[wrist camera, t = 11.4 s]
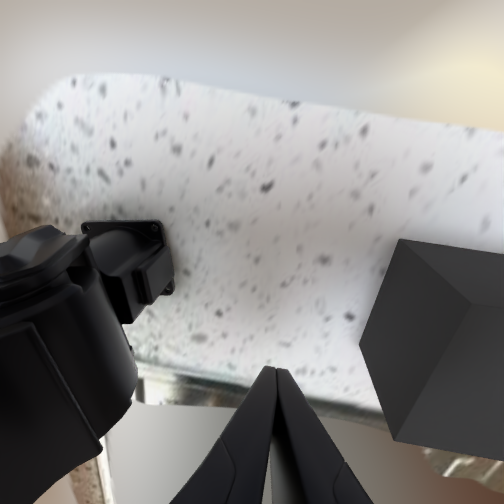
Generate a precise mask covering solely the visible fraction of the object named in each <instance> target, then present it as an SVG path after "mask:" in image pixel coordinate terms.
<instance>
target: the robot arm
mask: <svg viewBox="0 0 504 504" xmlns="http://www.w3.org/2000/svg"><path fill="white" fill-rule="evenodd" d="M153 224H155V225H156V226H157V227H158V229H155V228H154V226H153ZM87 226H88V227H89V228H90V230H89V229H88V227H87ZM81 230H82V233H83V234H80V235H66V234H65V232H64V233H62V232H61V231H59V230H58V229H56V228H55V227H53V226H52V225H44V226H39V227H37V228H34V229H31V230H29V231H26V232H24V233H21V234H19V235H17V236H14V237H12V238H11V239H9V240H8V241H7V242H3V243H0V504H33V503H34V502H35V501H36V500H37V499H38V498H39V497H40V496H41V495H42V494H43V493H44V492H46V491H47V490H48V489H49V488H50V487H51V486H52V485H53V484H54V483H55V482H57V481H58V480H59V479H61V478H62V477H63V476H65V475H66V474H68V473H69V472H70V471H72V470H73V469H74V468H76V467H77V466H79V465H81V464H83V463H85V462H87V461H88V460H90V459H92V458H94V457H96V456H98V455H99V454H100V453H101V452H102V450H103V447H102V445H101V443H100V441H99V439H100V438H101V437H103V436H104V435H105V434H106V433H107V432H108V431H109V430H110V429H111V428H112V427H113V426H114V425H115V424H116V423H117V422H118V421H119V420H120V419H121V418H122V417H123V415H124V414H125V413H126V412H127V410H128V409H129V407H130V406H131V404H132V400H131V397H132V395H133V392H134V389H135V387H136V384H137V381H138V368H137V366H136V363H135V361H134V358H133V357H134V351H133V348H132V346H130V345H129V342H128V340H127V337H126V335H125V332H124V330H123V328H122V324H132V323H133V322H134V321H135V319H136V318H137V317H138V316H139V314H140V313H141V312H142V311H143V309H144V308H145V307H146V306H147V305H152V304H153V303H154V301H155V300H156V299H157V297H158V296H159V295H171V294H172V293H173V292H174V290H175V286H174V281H173V277H174V270H173V265H172V259H171V254H170V249H169V247H168V246H167V245H166V239H165V234H164V229H163V225H162V223H161V222H160V221H159V220H107V221H86V222H84V223H82V224H81ZM167 288H169V289H170V290H167ZM269 451H270V468H271V486H272V487H271V488H272V504H374V503H373V502H372V500H371V499H370V498H369V496H368V495H367V493H366V492H365V490H364V489H363V487H362V486H361V484H360V482H359V481H358V479H357V478H356V477H355V475H354V473H353V472H352V470H351V469H350V467H349V465H348V464H347V462H344V458H343V457H342V455H341V453H340V452H339V450H338V449H337V447H336V445H335V444H334V442H333V441H332V439H331V437H330V436H329V434H328V433H327V431H326V430H325V428H324V426H323V425H322V423H321V422H320V420H319V418H318V417H317V415H316V414H315V412H314V410H313V409H312V407H311V406H310V404H309V402H308V401H307V399H306V398H305V396H304V394H303V393H302V391H301V390H300V388H299V387H298V385H297V383H296V382H295V380H294V379H293V377H292V375H291V374H290V372H289V371H288V370H287V369H282V368H277V369H276V368H275V367H270V366H264V367H263V369H262V371H261V372H260V374H259V375H258V377H257V378H256V380H255V382H254V383H253V385H252V386H251V388H250V389H249V391H248V393H247V394H246V396H245V397H244V399H243V400H242V402H241V404H240V405H239V407H238V408H237V410H236V412H235V413H234V415H233V416H232V418H231V420H230V421H229V423H228V424H227V426H226V427H225V429H224V431H223V432H222V434H221V435H220V438H218V439H217V441H216V443H215V444H214V446H213V447H212V449H211V450H210V452H209V453H208V455H207V456H206V458H205V459H204V461H203V462H202V464H201V465H200V466H199V467H198V469H197V470H196V471H195V473H194V474H193V475H192V476H191V478H190V479H189V480H188V481H187V483H186V484H185V485H184V486H183V488H182V489H181V490H180V491H179V492H178V494H177V495H176V496H175V497H174V498H173V500H172V501H171V502H170V503H169V504H262V497H263V490H264V484H265V477H266V471H267V464H268V457H269Z"/></svg>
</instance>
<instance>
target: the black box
mask: <svg viewBox="0 0 504 504" xmlns="http://www.w3.org/2000/svg"><path fill="white" fill-rule="evenodd" d="M359 346H360V349H361V352H362V355H363V358H364V360H365V363H366V366H367V369H368V371H369V374H370V377H371V380H372V382H373V385H374V388H375V391H376V394H377V396H378V399H379V402H380V405H381V407H382V410H383V413H384V416H385V418H386V421H387V424H388V427H389V429H390V432H391V435H392V438H393V440H394V441H397V442H403V443H407V444H413V445H418V446H424V447H429V448H434V449H440V450H445V451H451V452H456V453H461V454H467V455H472V456H478V457H483V458H488V459H494V460H499V461H504V254H497V253H491V252H484V251H478V250H471V249H464V248H458V247H451V246H444V245H438V244H431V243H425V242H418V241H411V240H405V239H399V241H398V243H397V246H396V249H395V251H394V254H393V257H392V259H391V262H390V264H389V267H388V270H387V272H386V275H385V277H384V280H383V283H382V285H381V288H380V291H379V293H378V296H377V298H376V301H375V304H374V306H373V309H372V311H371V314H370V317H369V319H368V322H367V325H366V327H365V330H364V332H363V335H362V338H361V340H360V343H359Z"/></svg>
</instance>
